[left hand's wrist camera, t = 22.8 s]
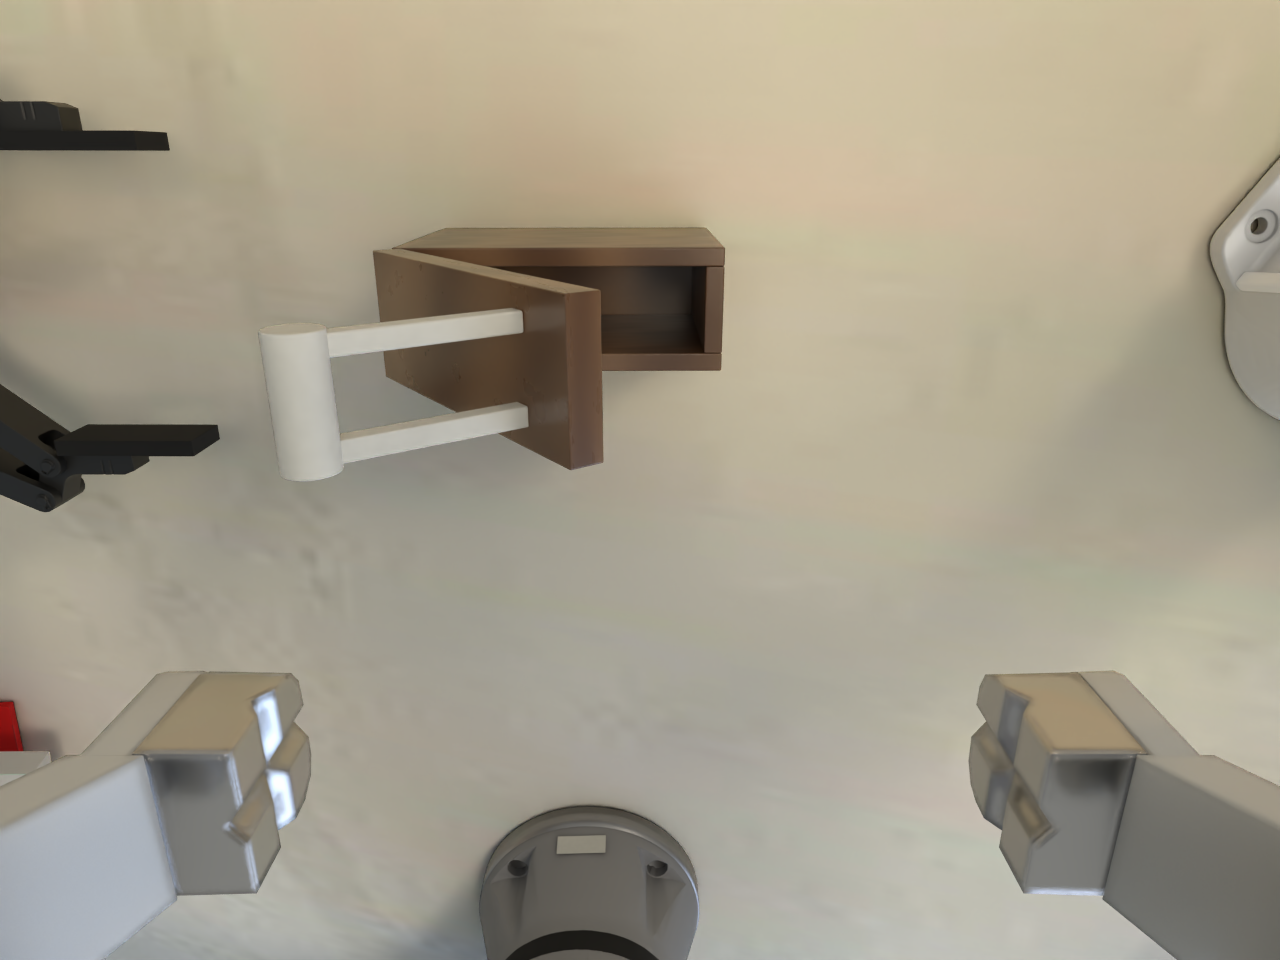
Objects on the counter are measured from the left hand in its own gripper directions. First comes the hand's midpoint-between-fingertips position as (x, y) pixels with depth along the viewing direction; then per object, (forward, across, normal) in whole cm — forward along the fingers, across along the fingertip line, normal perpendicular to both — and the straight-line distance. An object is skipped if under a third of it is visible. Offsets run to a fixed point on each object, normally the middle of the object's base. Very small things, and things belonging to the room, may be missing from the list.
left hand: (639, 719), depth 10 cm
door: (+22, -5, 0) cm, 23 cm away
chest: (+39, -3, 0) cm, 40 cm away
